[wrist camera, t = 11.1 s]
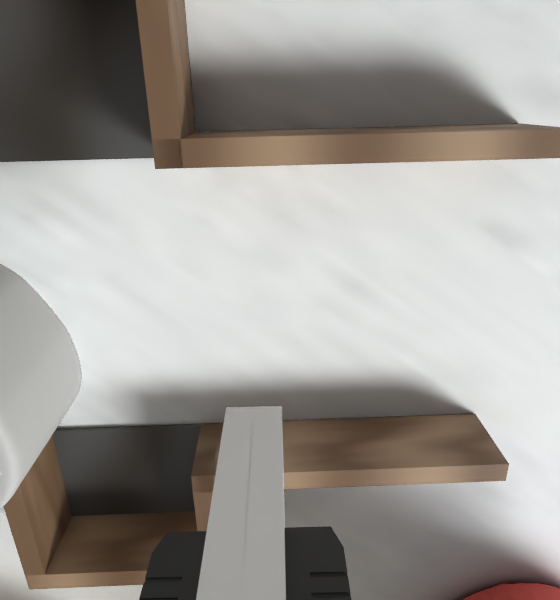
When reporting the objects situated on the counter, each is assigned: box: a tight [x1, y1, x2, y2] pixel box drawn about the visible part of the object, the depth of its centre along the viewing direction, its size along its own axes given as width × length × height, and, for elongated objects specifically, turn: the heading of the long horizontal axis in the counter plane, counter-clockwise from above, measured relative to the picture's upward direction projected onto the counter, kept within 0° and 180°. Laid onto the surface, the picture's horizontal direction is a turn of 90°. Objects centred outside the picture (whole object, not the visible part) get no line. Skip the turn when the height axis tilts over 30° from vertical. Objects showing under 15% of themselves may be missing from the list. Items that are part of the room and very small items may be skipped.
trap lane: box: [0, 0, 560, 589], centre depth 22 cm, size 37×28×4 cm
